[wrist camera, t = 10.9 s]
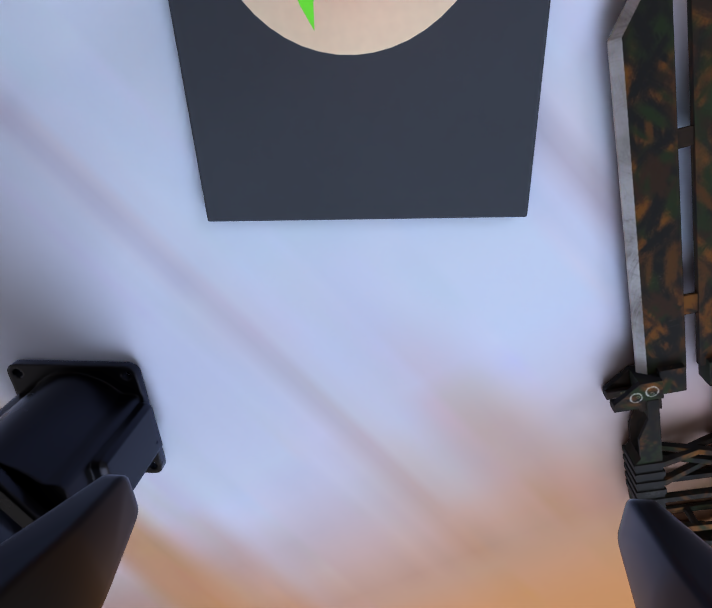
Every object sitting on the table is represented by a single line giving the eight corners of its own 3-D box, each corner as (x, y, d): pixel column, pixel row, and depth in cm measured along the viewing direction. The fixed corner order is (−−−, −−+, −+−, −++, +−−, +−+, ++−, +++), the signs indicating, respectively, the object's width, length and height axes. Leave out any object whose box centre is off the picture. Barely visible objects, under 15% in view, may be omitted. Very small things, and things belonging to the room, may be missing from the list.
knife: (599, -54, 15) (616, -65, 13) (850, -119, 13) (895, -138, 12) (602, 536, 25) (612, 561, 24) (744, 528, 24) (763, 554, 22)
